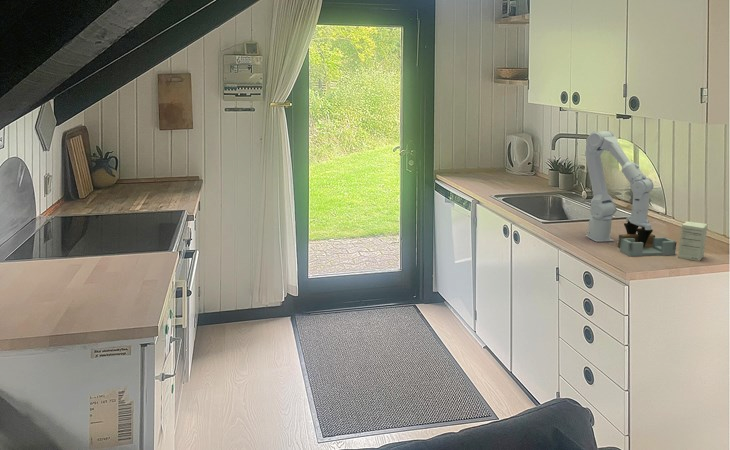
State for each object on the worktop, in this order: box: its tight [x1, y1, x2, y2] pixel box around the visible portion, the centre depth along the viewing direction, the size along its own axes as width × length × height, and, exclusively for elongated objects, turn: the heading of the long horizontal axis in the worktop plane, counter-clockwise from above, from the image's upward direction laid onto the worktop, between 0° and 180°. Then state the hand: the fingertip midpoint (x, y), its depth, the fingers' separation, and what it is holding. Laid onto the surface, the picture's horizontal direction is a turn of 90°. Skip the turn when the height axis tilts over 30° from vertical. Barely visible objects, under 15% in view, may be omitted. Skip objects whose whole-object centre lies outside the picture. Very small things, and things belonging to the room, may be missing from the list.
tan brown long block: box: [617, 233, 656, 249], centre depth 239 cm, size 3×13×5 cm, turn 96°
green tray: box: [619, 236, 677, 257], centre depth 231 cm, size 7×18×5 cm, turn 96°
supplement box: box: [678, 221, 709, 262], centre depth 225 cm, size 7×7×13 cm
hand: (636, 243), depth 239 cm, fingers open, 7 cm apart
